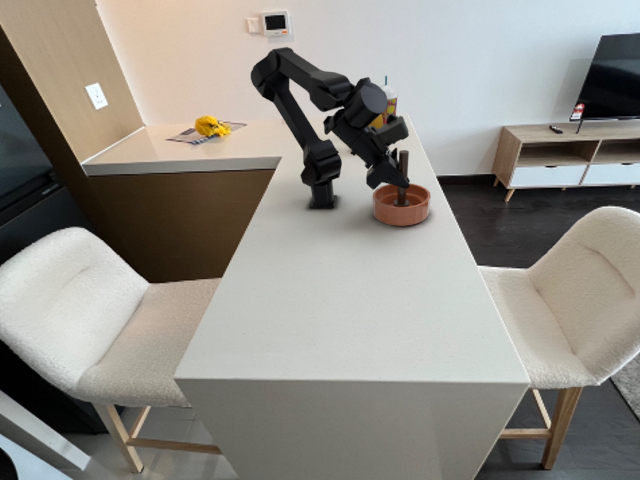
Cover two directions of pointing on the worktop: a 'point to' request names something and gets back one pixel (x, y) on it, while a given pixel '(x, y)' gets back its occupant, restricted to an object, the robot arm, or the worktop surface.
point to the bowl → (401, 215)
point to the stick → (403, 168)
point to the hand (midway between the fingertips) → (408, 185)
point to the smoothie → (389, 100)
